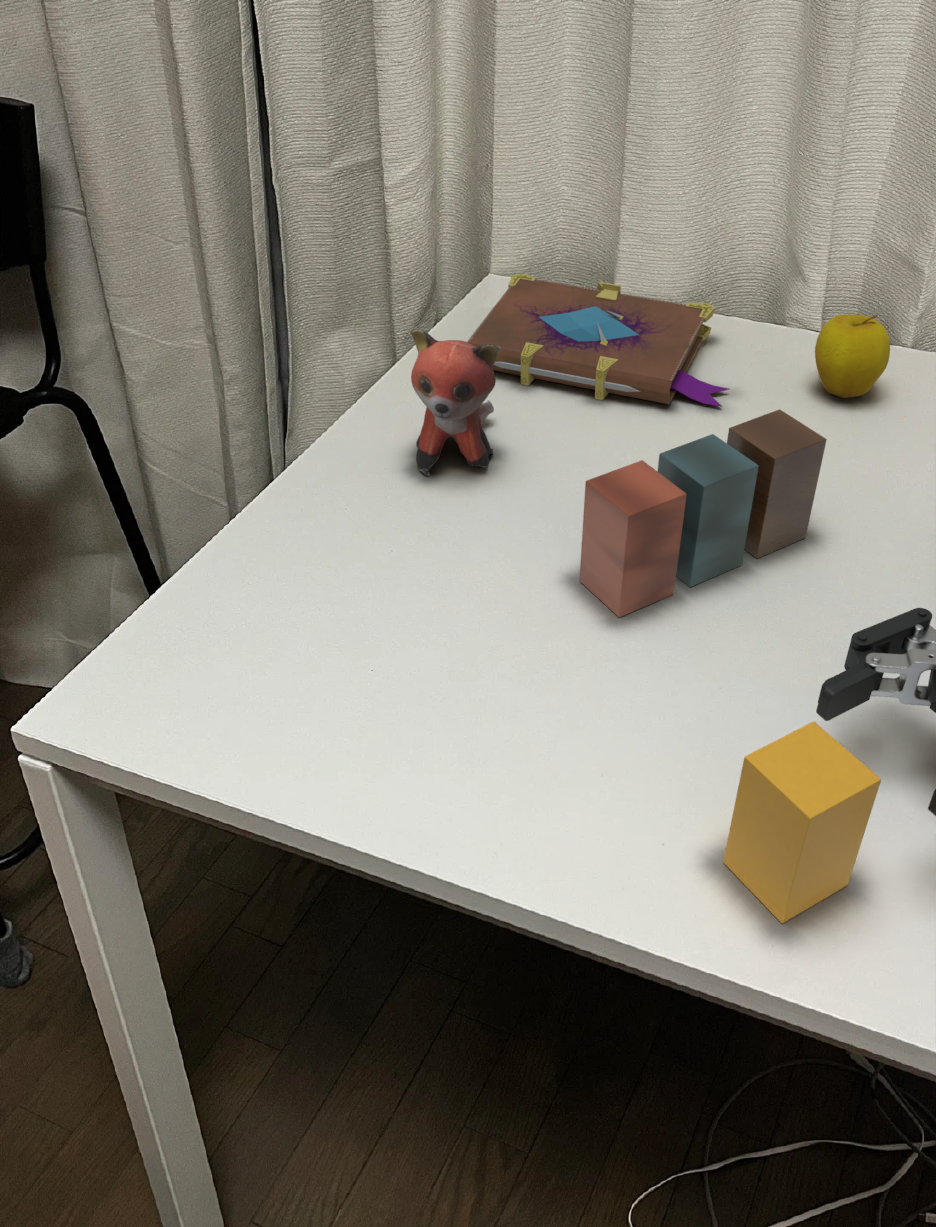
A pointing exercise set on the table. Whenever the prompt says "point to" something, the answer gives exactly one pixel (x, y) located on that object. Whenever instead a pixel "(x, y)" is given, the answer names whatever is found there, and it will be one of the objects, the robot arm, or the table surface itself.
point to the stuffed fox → (453, 397)
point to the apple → (851, 354)
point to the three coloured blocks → (698, 510)
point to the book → (598, 339)
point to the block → (799, 820)
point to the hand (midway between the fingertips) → (877, 753)
